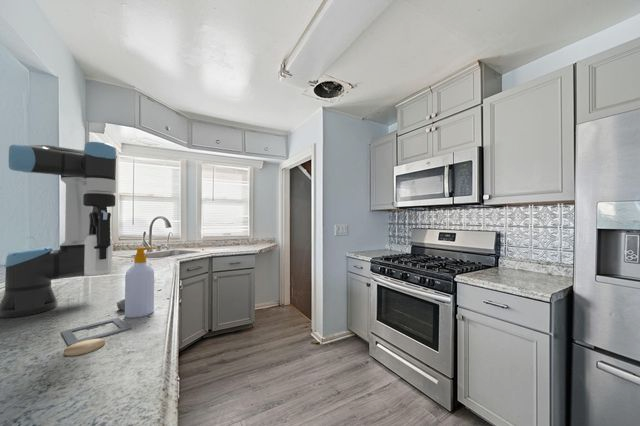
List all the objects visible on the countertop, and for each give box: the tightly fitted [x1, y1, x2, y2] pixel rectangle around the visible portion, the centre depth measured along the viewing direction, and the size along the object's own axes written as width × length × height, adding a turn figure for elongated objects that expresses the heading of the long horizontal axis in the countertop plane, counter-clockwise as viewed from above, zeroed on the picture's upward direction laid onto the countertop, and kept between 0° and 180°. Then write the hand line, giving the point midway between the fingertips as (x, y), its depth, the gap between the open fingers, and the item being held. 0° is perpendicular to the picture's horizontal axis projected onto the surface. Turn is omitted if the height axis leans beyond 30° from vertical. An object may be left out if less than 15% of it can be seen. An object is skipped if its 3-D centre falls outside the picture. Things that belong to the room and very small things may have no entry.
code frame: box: [60, 317, 133, 347], centre depth 79 cm, size 14×14×1 cm
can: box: [84, 233, 114, 277], centre depth 79 cm, size 6×6×12 cm
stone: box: [116, 298, 125, 312], centre depth 100 cm, size 10×8×6 cm
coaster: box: [63, 338, 106, 357], centre depth 68 cm, size 8×8×1 cm
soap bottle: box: [124, 246, 157, 319], centre depth 94 cm, size 9×9×24 cm
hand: (98, 268), depth 79 cm, fingers closed on can, 6 cm apart
